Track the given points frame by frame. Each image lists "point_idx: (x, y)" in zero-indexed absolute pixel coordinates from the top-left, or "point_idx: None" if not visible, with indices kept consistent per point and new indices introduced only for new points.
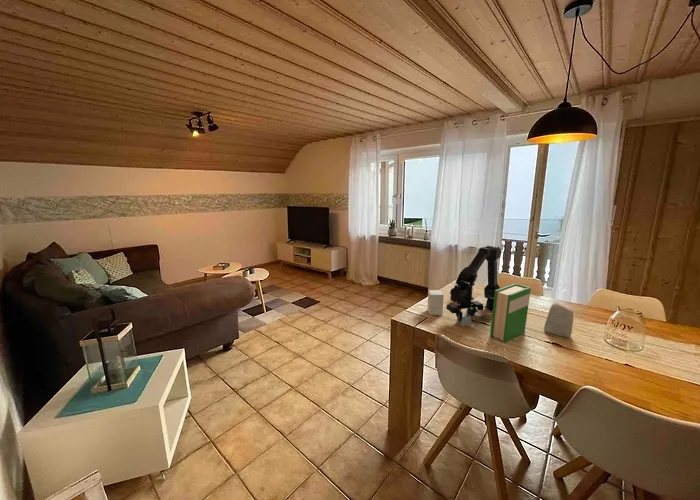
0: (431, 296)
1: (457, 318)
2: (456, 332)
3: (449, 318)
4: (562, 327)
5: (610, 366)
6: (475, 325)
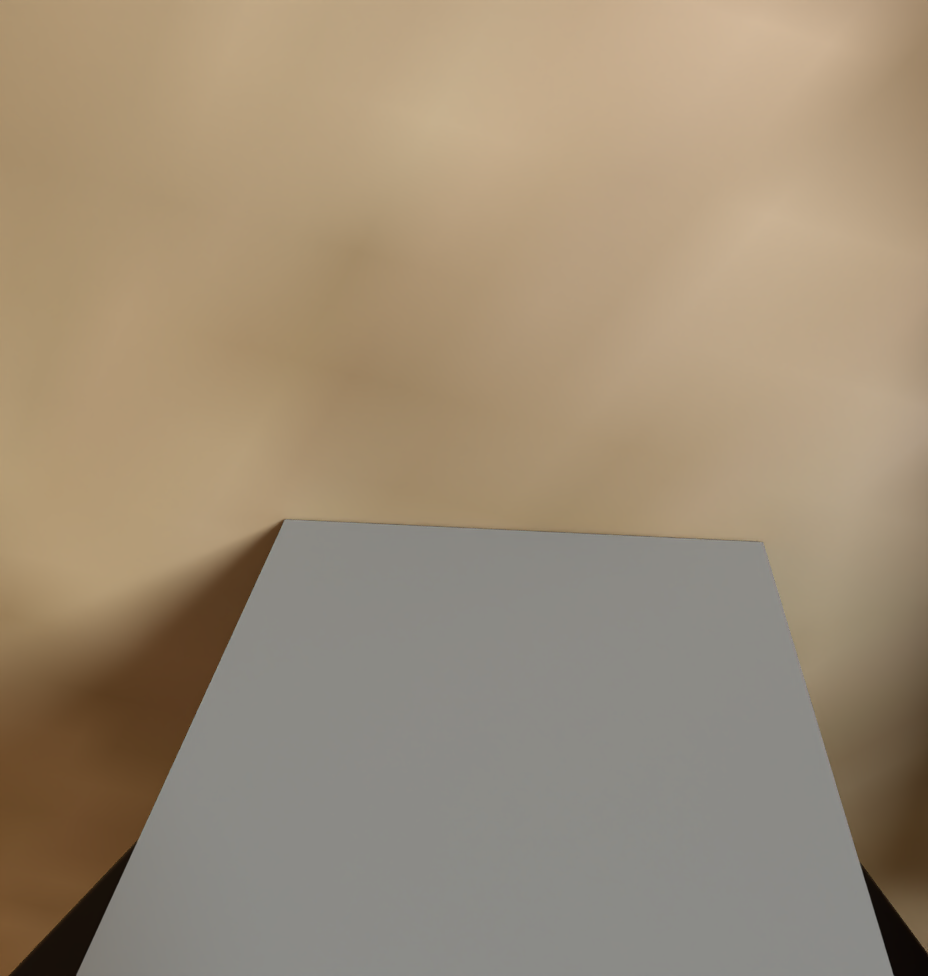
0: None
1: (125, 854)
2: (5, 928)
3: (14, 25)
4: None
5: None
6: None
